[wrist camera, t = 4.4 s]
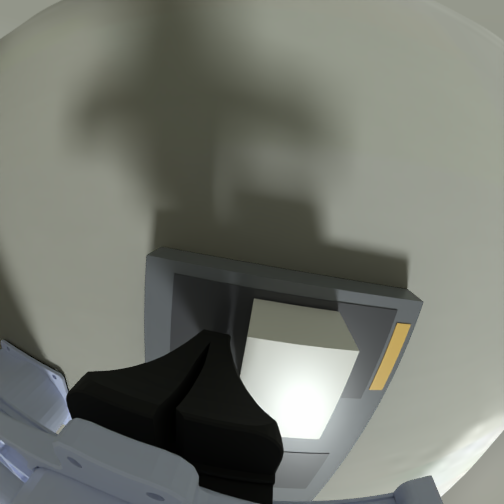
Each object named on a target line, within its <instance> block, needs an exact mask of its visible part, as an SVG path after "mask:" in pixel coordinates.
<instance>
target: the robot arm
mask: <svg viewBox="0 0 504 504" xmlns="http://www.w3.org/2000/svg"><path fill="white" fill-rule="evenodd" d="M230 340H231V336H230V335H229V334H225V333H220V332H215V331H210V330H205V329H204V330H202V331H201V332H199V333H198V334H197V335H195V336H194V337H193V338H191V339H190V340H189V341H187V342H186V343H184V344H183V345H181V346H180V347H178V348H176V349H175V350H173V351H171V352H169V353H168V354H166V355H164V356H162V357H160V358H157V359H155V360H152V361H150V362H147V363H143V364H140V365H137V366H133V367H129V368H124V369H118V370H110V371H94V372H87V373H86V374H85V375H84V376H83V377H82V378H81V379H80V380H79V381H78V382H77V383H76V384H75V386H74V387H73V388H72V389H71V390H70V391H69V392H68V390H67V386H66V383H65V379H64V377H63V375H62V374H61V373H59V372H57V371H55V370H53V369H51V368H50V367H48V366H46V365H44V364H42V363H41V362H39V361H37V360H35V359H34V358H32V357H30V356H29V355H27V354H25V353H24V352H22V351H21V350H19V349H17V348H16V347H14V346H13V345H11V344H10V343H8V342H7V341H5V340H1V346H2V349H0V504H443V502H442V500H441V497H440V495H439V492H438V490H437V487H436V485H435V483H434V480H433V478H432V476H426V477H422V478H418V479H414V480H410V481H407V482H405V483H403V484H401V485H400V486H399V487H398V488H397V489H396V490H395V491H394V493H388V494H383V495H377V496H370V497H363V498H354V499H344V500H330V501H277V500H273V485H274V484H275V473H276V471H277V469H278V467H279V465H280V463H281V461H282V459H283V454H284V448H283V442H282V437H281V434H280V430H279V427H278V424H277V422H276V421H275V420H274V419H273V418H272V417H271V416H269V415H268V414H267V413H266V412H265V411H264V410H263V409H262V408H261V407H260V406H259V405H258V404H257V403H256V401H255V400H254V399H253V397H252V396H251V395H250V393H249V392H248V391H247V389H246V387H245V386H244V384H243V382H242V380H241V378H240V376H239V374H238V372H237V369H236V366H235V363H234V360H233V356H232V352H231V346H230ZM62 424H64V425H66V426H65V427H64V428H63V429H62V431H61V432H60V433H59V434H56V431H57V430H58V429H59V428H60V426H61V425H62Z"/></svg>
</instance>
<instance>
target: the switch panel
mask: <svg viewBox="0 0 504 504" xmlns="http://www.w3.org/2000/svg"><path fill="white" fill-rule="evenodd" d="M254 298H255V299H261V300H267V301H273V302H279V303H285V304H291V305H297V306H304V307H310V308H317V309H324V310H331V311H338V312H340V314H341V316H342V318H343V320H344V322H345V324H346V326H347V328H348V330H349V332H350V334H351V336H352V338H353V339H354V341H355V343H356V345H357V347H358V349H359V353H358V356H357V359H356V361H355V364H354V366H353V369H352V371H351V373H350V376H349V378H348V380H347V383H346V385H345V387H344V390H343V392H342V394H341V396H340V398H339V401H338V403H337V405H336V407H335V409H334V411H333V413H332V415H331V417H330V419H329V421H328V423H327V425H326V427H325V429H324V431H323V433H322V435H321V437H320V439H302V438H288V437H282V442H283V448H284V454H283V459H282V461H281V463H280V465H279V467H278V469H277V471H276V473H275V484H274V485H273V500H277V501H312V500H313V499H314V498H315V497H316V495H317V494H318V493H319V492H320V491H321V489H322V488H323V487H324V486H325V484H326V483H327V482H328V481H329V479H330V478H331V477H332V475H333V474H334V473H335V471H336V470H337V469H338V467H339V466H340V465H341V463H342V462H343V461H344V459H345V458H346V456H347V455H348V453H349V452H350V450H351V449H352V447H353V446H354V444H355V443H356V441H357V440H358V438H359V437H360V435H361V434H362V432H363V430H364V429H365V427H366V426H367V424H368V422H369V421H370V419H371V417H372V415H373V414H374V412H375V410H376V408H377V407H378V405H379V403H380V401H381V399H382V397H383V395H384V394H385V392H386V390H387V388H388V386H389V384H390V382H391V380H392V378H393V376H394V374H395V372H396V369H397V367H398V365H399V363H400V361H401V358H402V356H403V354H404V352H405V349H406V347H407V345H408V342H409V340H410V337H411V335H412V332H413V330H414V327H415V324H416V322H417V319H418V316H419V313H420V311H421V308H422V305H423V301H422V300H421V299H419V298H418V297H417V296H416V295H414V294H413V293H412V292H411V291H409V290H408V289H403V288H397V287H390V286H384V285H378V284H372V283H366V282H360V281H354V280H348V279H341V278H335V277H330V276H324V275H318V274H312V273H306V272H300V271H294V270H288V269H283V268H277V267H271V266H265V265H260V264H254V263H248V262H243V261H237V260H231V259H226V258H220V257H215V256H209V255H204V254H198V253H193V252H187V251H182V250H176V249H171V248H165V247H161V248H159V249H157V250H155V251H153V252H151V253H150V254H148V255H147V257H146V275H145V309H144V333H145V363H147V362H150V361H152V360H155V359H157V358H160V357H162V356H164V355H166V354H168V353H169V352H171V351H173V350H175V349H176V348H178V347H180V346H181V345H183V344H184V343H186V342H187V341H189V340H190V339H191V338H193V337H194V336H195V335H197V334H198V333H199V332H201V331H202V330H204V329H205V330H210V331H215V332H220V333H225V334H229V335H230V336H231V340H230V346H231V352H232V356H233V360H234V363H235V366H236V369H237V372H238V374H239V376H240V372H241V366H242V361H243V356H244V350H245V345H246V340H247V334H248V329H249V323H250V318H251V312H252V307H253V301H254Z"/></svg>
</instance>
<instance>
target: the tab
mask: <svg viewBox="0 0 504 504" xmlns="http://www.w3.org/2000/svg"><path fill="white" fill-rule="evenodd" d="M358 353H359V349H358V347H357V345H356V343H355V341H354V339H353V338H352V336H351V334H350V332H349V330H348V328H347V326H346V324H345V322H344V320H343V318H342V316H341V314H340V312H338V311H331V310H324V309H317V308H310V307H304V306H297V305H291V304H285V303H279V302H273V301H267V300H261V299H255V298H254V301H253V307H252V312H251V318H250V323H249V329H248V334H247V340H246V345H245V350H244V356H243V361H242V366H241V372H240V378H241V380H242V382H243V384H244V386H245V387H246V389H247V391H248V392H249V393H250V395H251V396H252V397H253V399H254V400H255V401H256V403H257V404H258V405H259V406H260V407H261V408H262V409H263V410H264V411H265V412H266V413H267V414H268V415H269V416H271V417H272V418H273V419H274V420H275V421H276V422H277V424H278V427H279V430H280V434H281V437H288V438H302V439H320V437H321V435H322V433H323V431H324V429H325V427H326V425H327V423H328V421H329V419H330V417H331V415H332V413H333V411H334V409H335V407H336V405H337V403H338V401H339V398H340V396H341V394H342V392H343V390H344V387H345V385H346V383H347V380H348V378H349V376H350V373H351V371H352V369H353V366H354V364H355V361H356V359H357V356H358Z"/></svg>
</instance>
